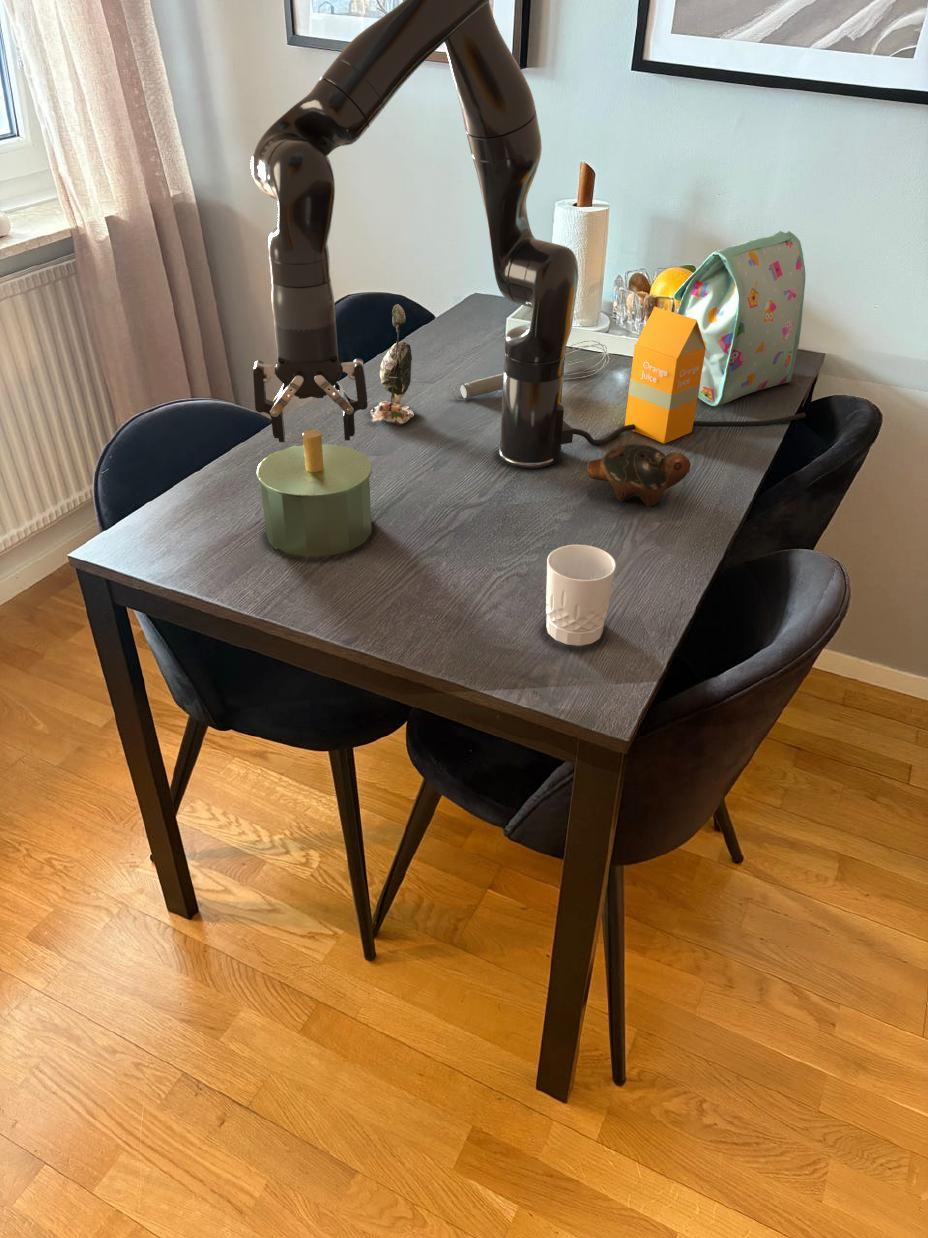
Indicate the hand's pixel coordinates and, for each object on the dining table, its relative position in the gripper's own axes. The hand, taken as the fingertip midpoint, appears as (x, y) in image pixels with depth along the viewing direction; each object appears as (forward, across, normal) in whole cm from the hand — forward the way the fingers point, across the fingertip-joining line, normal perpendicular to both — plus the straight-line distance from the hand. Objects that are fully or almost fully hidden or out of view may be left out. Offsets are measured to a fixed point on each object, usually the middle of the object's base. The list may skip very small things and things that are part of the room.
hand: (315, 439), depth 126 cm
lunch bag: (+15, +75, +49) cm, 91 cm away
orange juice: (+15, +57, +30) cm, 66 cm away
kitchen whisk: (+15, +39, +51) cm, 66 cm away
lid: (+4, 0, -1) cm, 4 cm away
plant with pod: (+14, +12, +39) cm, 44 cm away
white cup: (+14, +31, -27) cm, 43 cm away
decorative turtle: (+14, +47, +7) cm, 49 cm away
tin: (+14, 0, -1) cm, 14 cm away
